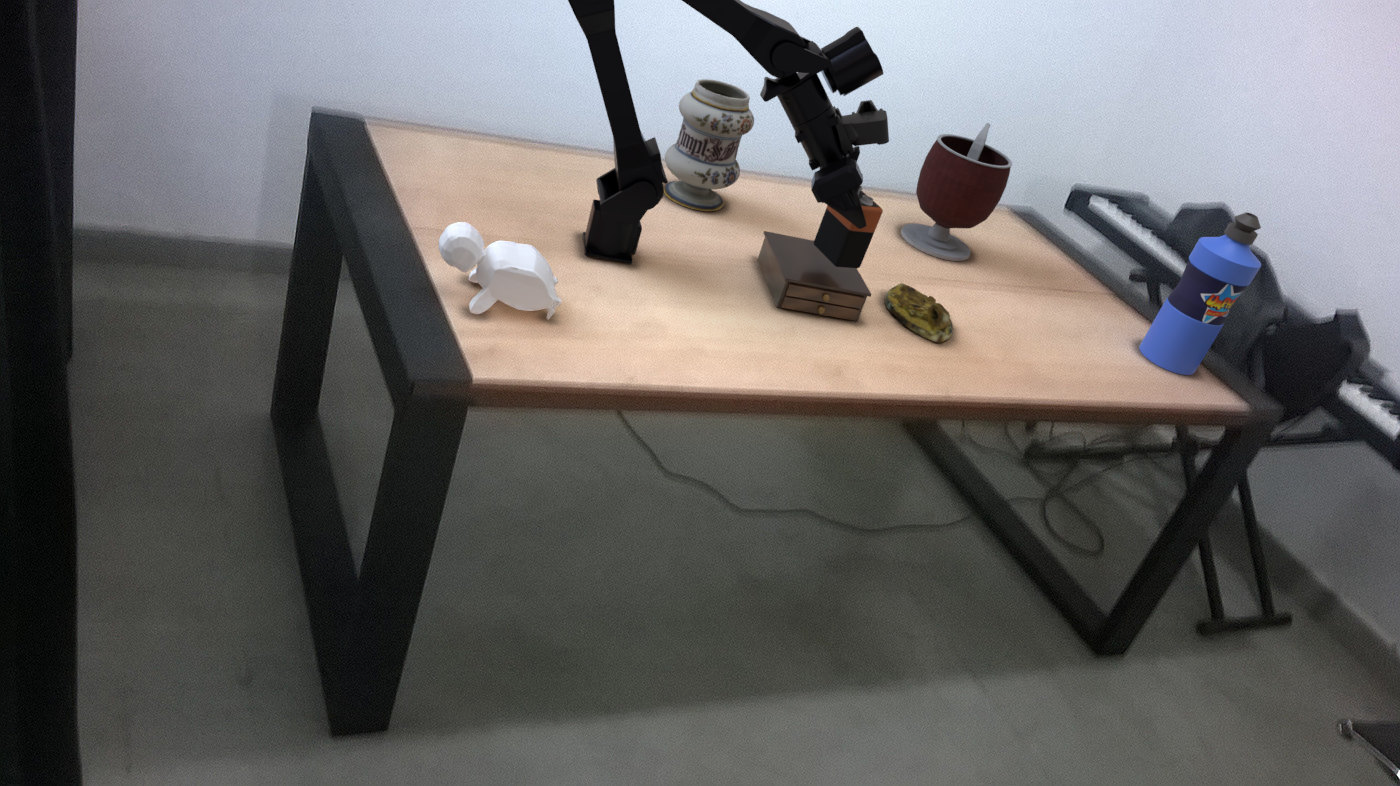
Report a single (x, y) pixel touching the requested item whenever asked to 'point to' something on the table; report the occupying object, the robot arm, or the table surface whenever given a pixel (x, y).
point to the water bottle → (1203, 298)
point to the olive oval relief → (919, 313)
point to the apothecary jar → (707, 144)
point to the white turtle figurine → (500, 270)
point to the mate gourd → (957, 192)
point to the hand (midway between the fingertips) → (862, 216)
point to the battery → (847, 234)
